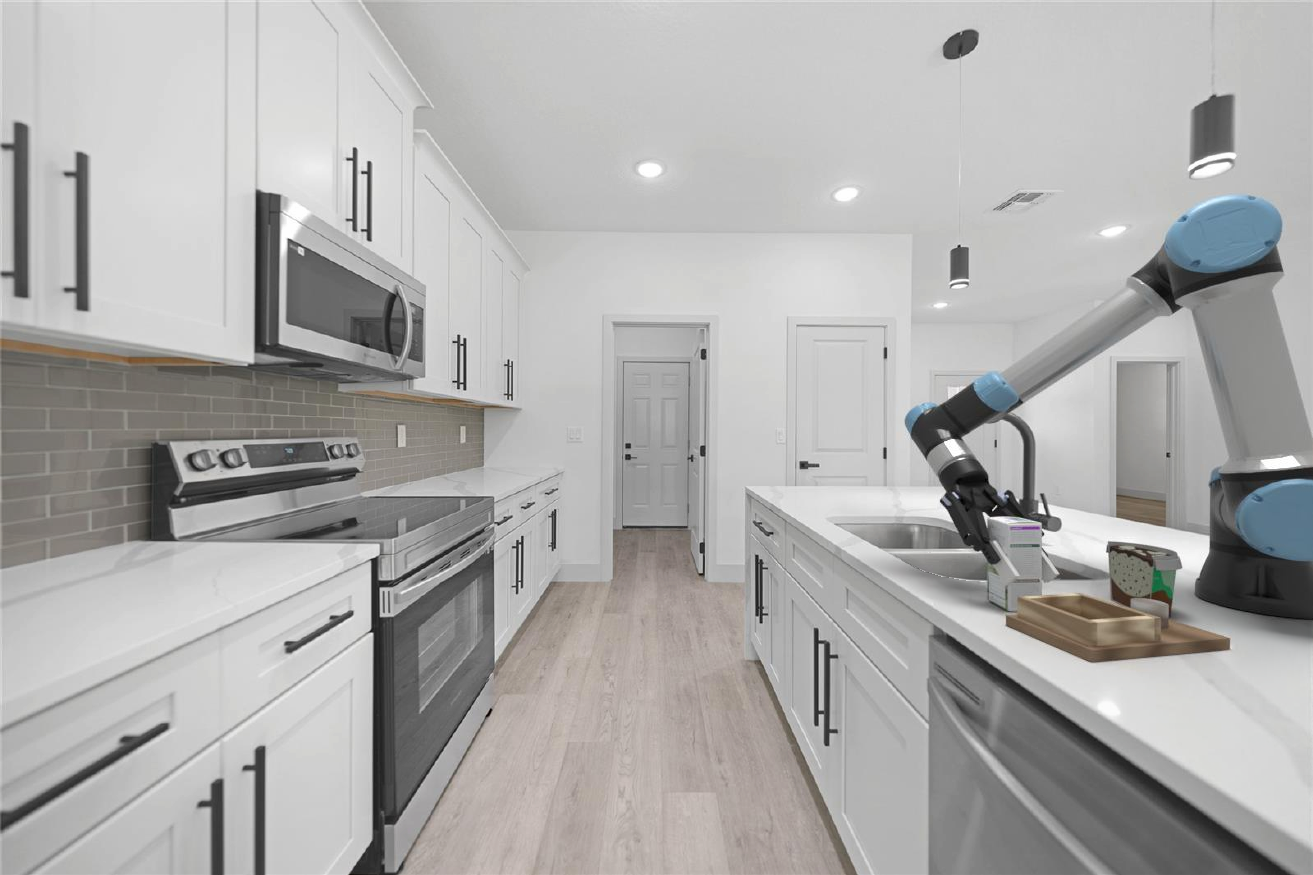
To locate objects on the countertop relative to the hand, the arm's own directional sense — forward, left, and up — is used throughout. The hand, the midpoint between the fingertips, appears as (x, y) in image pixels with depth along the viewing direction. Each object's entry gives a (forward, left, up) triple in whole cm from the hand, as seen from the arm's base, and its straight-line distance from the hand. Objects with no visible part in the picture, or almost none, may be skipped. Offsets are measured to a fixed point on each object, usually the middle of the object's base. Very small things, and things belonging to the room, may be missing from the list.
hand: (1032, 579), depth 85 cm
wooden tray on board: (-4, +10, -5) cm, 12 cm away
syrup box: (+1, -3, -6) cm, 7 cm away
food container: (-20, -1, -6) cm, 21 cm away
